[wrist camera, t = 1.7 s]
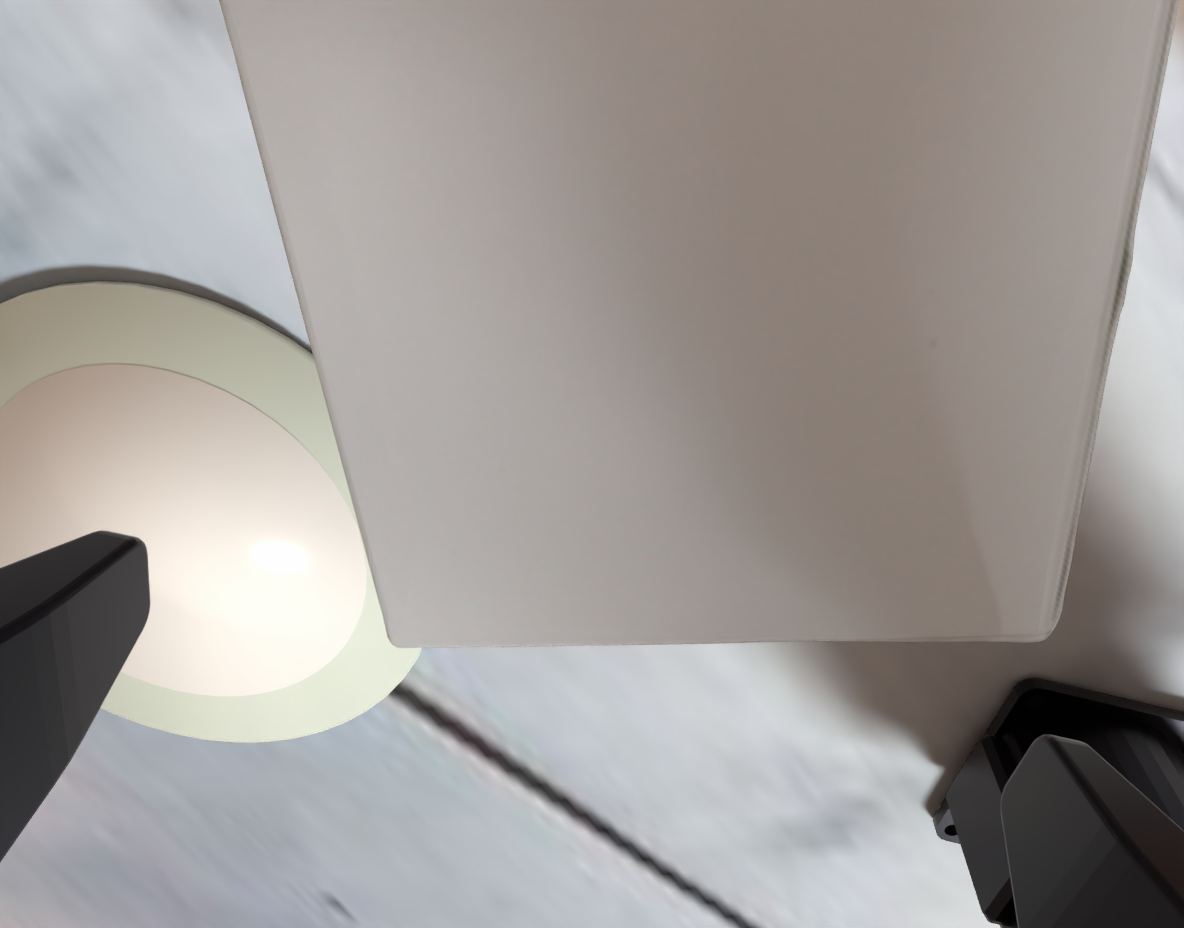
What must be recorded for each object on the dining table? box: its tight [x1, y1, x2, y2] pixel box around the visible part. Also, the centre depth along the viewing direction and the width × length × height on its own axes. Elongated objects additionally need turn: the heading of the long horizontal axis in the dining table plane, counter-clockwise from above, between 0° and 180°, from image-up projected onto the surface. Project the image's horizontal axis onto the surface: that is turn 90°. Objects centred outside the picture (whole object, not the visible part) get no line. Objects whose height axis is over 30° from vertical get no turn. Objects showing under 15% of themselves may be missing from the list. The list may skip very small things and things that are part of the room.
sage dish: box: [0, 281, 422, 742], centre depth 25 cm, size 15×15×1 cm
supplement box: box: [219, 0, 1179, 648], centre depth 13 cm, size 7×7×13 cm
